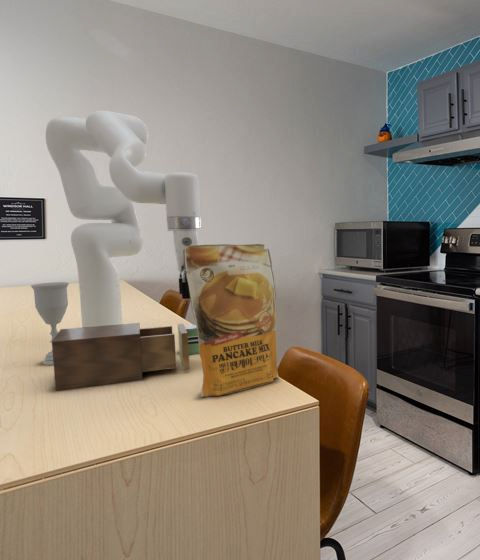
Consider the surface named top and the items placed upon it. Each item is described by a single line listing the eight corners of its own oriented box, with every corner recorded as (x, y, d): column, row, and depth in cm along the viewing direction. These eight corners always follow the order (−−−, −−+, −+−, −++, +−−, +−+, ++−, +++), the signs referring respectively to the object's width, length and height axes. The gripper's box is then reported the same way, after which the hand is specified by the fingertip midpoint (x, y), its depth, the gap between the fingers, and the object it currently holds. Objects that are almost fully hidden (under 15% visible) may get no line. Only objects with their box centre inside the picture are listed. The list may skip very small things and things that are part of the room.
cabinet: (142, 364, 115) (139, 322, 114) (142, 379, 104) (139, 333, 103) (64, 373, 108) (60, 329, 107) (55, 390, 97) (51, 341, 96)
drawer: (207, 353, 121) (205, 321, 120) (213, 365, 111) (211, 330, 110) (118, 363, 112) (115, 329, 111) (116, 377, 102) (113, 339, 101)
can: (179, 350, 127) (177, 326, 126) (200, 348, 129) (199, 324, 129) (180, 355, 123) (179, 329, 122) (202, 352, 125) (201, 327, 124)
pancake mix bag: (182, 394, 95) (174, 245, 92) (272, 372, 109) (268, 242, 106) (199, 402, 91) (191, 246, 88) (290, 378, 105) (286, 243, 102)
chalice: (54, 366, 113) (48, 286, 111) (29, 365, 114) (22, 285, 112) (82, 358, 120) (76, 282, 118) (58, 356, 121) (52, 281, 119)
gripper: (205, 225, 116) (208, 299, 118) (197, 224, 132) (200, 290, 134) (169, 225, 113) (173, 302, 115) (165, 224, 128) (169, 292, 130)
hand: (188, 295), depth 124 cm, fingers open, 8 cm apart
